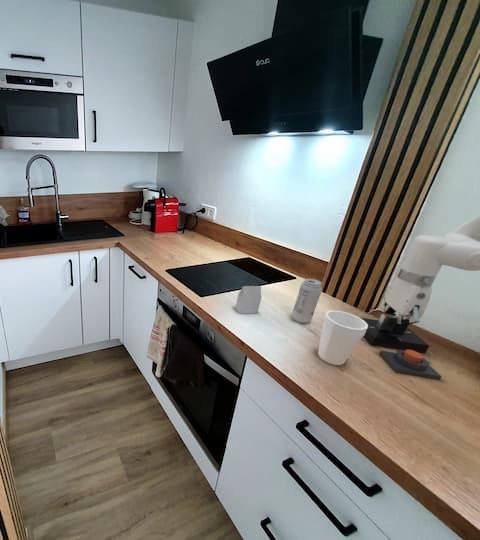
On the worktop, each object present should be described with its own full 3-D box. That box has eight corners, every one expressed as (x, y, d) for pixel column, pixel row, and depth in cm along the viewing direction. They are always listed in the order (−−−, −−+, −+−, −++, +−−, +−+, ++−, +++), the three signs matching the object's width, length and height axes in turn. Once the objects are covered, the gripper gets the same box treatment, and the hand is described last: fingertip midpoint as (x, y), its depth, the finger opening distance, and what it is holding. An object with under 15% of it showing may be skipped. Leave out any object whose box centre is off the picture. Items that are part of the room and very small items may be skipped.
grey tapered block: (257, 313, 104) (263, 288, 100) (239, 313, 103) (245, 289, 100) (252, 307, 107) (258, 284, 103) (235, 308, 107) (240, 284, 103)
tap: (401, 330, 91) (408, 316, 89) (404, 333, 89) (411, 319, 87) (375, 326, 93) (382, 312, 90) (378, 329, 91) (385, 315, 89)
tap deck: (399, 330, 96) (403, 322, 95) (425, 353, 85) (430, 345, 84) (352, 324, 99) (355, 316, 98) (371, 345, 88) (375, 337, 87)
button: (414, 355, 80) (417, 350, 80) (423, 364, 77) (426, 359, 76) (399, 353, 81) (402, 348, 80) (408, 361, 78) (410, 356, 77)
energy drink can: (312, 325, 97) (326, 286, 91) (293, 322, 99) (305, 283, 93) (307, 316, 103) (320, 279, 97) (289, 313, 104) (300, 276, 98)
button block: (418, 359, 83) (423, 351, 81) (439, 379, 76) (445, 371, 74) (378, 353, 85) (382, 345, 84) (395, 372, 78) (400, 363, 76)
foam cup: (356, 361, 81) (373, 322, 76) (343, 373, 77) (360, 334, 71) (320, 343, 89) (333, 307, 83) (305, 354, 84) (319, 316, 78)
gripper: (454, 292, 75) (423, 347, 82) (411, 268, 90) (388, 316, 98) (420, 288, 77) (393, 343, 84) (383, 265, 92) (363, 313, 99)
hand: (390, 328), depth 91 cm, fingers open, 5 cm apart
